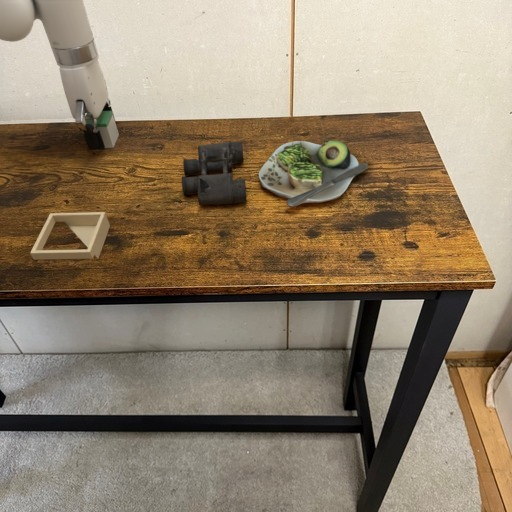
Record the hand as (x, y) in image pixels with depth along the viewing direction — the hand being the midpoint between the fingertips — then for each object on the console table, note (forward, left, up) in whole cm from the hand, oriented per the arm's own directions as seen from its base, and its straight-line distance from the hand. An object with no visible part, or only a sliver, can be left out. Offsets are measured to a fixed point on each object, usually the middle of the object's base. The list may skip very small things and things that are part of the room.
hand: (103, 136), depth 94 cm
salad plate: (+22, -38, -1) cm, 44 cm away
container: (0, 0, -1) cm, 1 cm away
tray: (-19, -25, -1) cm, 31 cm away
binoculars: (+8, -27, -1) cm, 29 cm away
